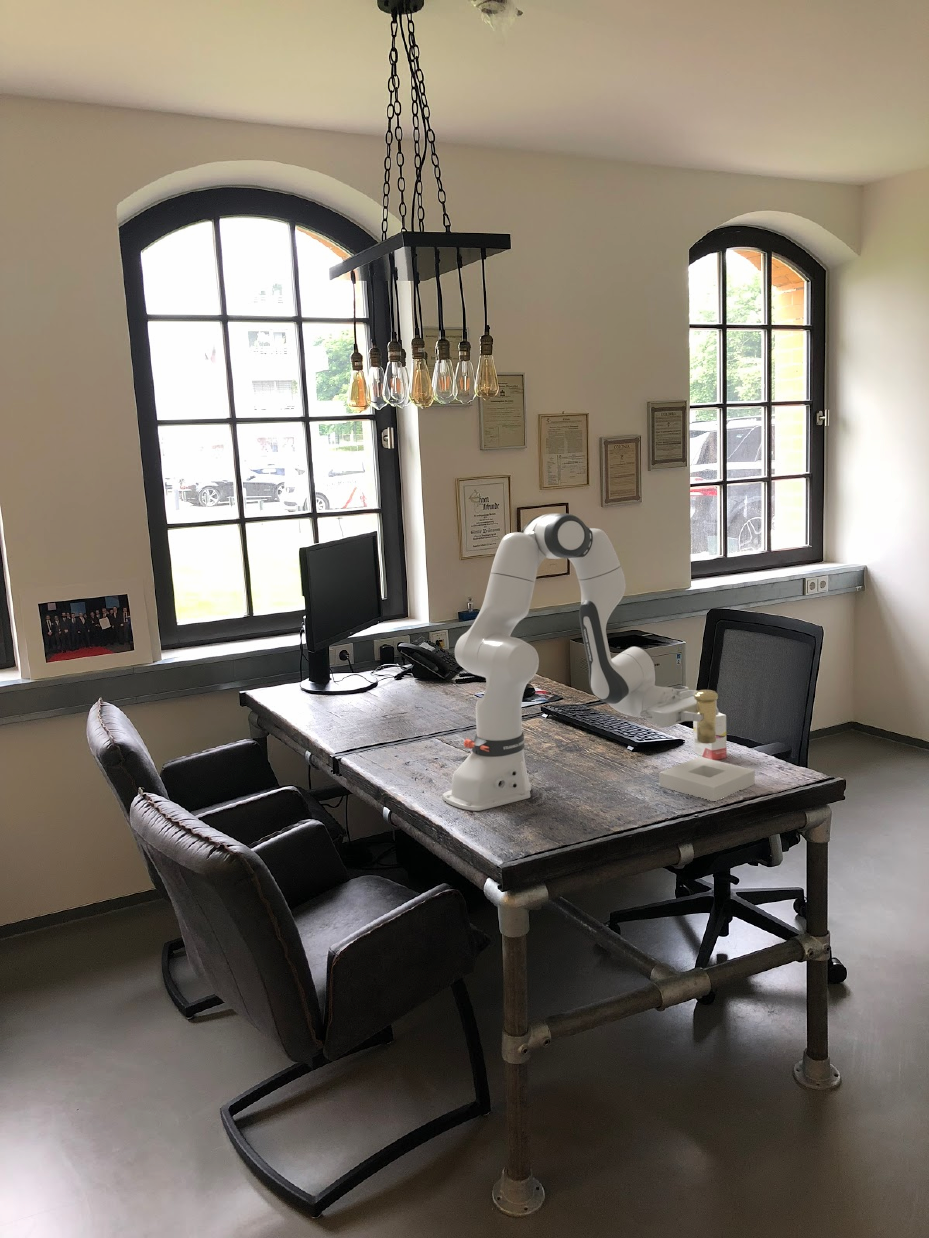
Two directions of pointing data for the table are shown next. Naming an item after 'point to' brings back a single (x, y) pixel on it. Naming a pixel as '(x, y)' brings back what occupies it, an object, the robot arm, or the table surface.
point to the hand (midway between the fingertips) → (709, 714)
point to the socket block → (707, 778)
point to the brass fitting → (706, 715)
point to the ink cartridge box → (716, 748)
